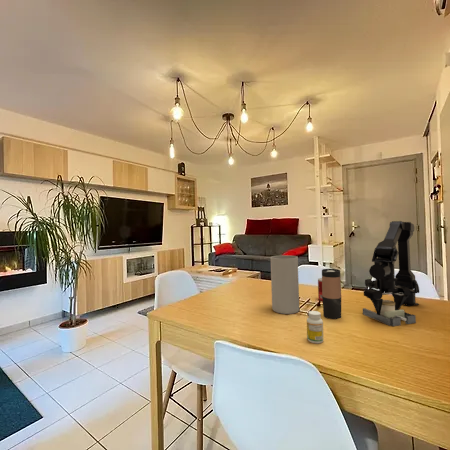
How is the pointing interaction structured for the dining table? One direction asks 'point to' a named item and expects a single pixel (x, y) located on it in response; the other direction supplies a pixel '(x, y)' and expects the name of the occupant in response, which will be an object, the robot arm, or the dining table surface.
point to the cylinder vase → (285, 284)
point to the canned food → (320, 289)
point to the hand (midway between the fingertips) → (387, 312)
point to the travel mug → (331, 293)
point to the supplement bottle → (314, 327)
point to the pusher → (395, 314)
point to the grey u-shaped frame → (389, 321)
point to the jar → (387, 306)
